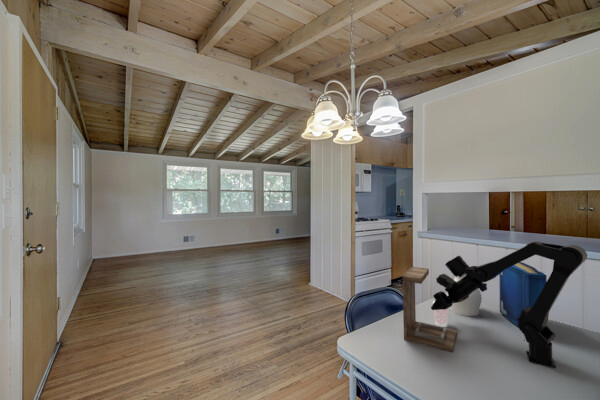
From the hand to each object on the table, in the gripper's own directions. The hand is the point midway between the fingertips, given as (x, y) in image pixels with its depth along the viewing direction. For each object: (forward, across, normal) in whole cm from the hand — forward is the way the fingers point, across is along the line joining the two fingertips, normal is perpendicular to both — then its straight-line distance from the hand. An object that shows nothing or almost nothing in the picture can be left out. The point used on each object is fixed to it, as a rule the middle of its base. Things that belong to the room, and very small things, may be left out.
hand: (437, 306), depth 114 cm
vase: (+5, -22, +6) cm, 23 cm away
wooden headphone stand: (+2, +13, +8) cm, 15 cm away
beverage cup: (+4, 0, +6) cm, 8 cm away
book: (-10, -26, +21) cm, 34 cm away
